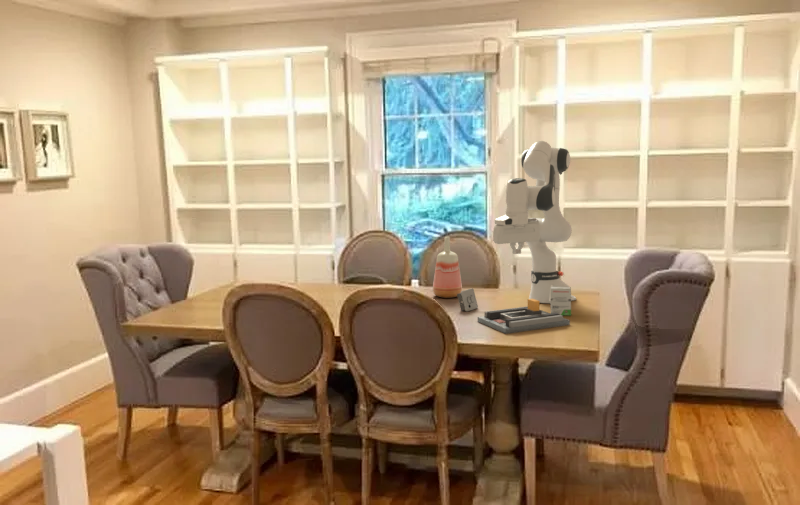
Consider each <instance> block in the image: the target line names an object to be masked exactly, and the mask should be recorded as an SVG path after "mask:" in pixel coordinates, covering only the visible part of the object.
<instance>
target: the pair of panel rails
mask: <svg viewBox="0 0 800 505" xmlns="http://www.w3.org/2000/svg"><path fill="white" fill-rule="evenodd" d="M526 308H528V305H526V306H519V307H514V308H513V307H511V308H503V309H495V310H486V311H484V315H483V316H485V317H487V318H490V319H491V318H499V317H500V314H501V313H509V312H517V311H525V309H526ZM548 313H549V314H541V315H534V316H526V317H518V318H510V319H506V325H507V326H509V327H511V328H513V327H520V326H528V325H535V324H543V323H550V322H557V321H563V318H564V315H560V314H559V313H551V312H548Z"/></svg>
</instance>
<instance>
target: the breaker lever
mask: <svg viewBox="0 0 800 505" xmlns="http://www.w3.org/2000/svg"><path fill="white" fill-rule="evenodd" d="M527 306H528V308H526V309H525V316H527V315H535V314H542V311H543V310H541V309H540V303H539V301H538V300H535V299H529V298H528V299H527Z"/></svg>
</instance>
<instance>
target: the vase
mask: <svg viewBox="0 0 800 505" xmlns="http://www.w3.org/2000/svg"><path fill="white" fill-rule="evenodd" d="M443 240H444V243H443V244H444V245H443V247H444V248H443V251H441V252H439V253H438V254H437V255H436V261H435V268H434V276H433V283H432V292H433V294H434V295H435V296H436V297H439V298H443V299H449V298H450V299H451V298H456V297H457V298H458V296H457V294H459V293H461V291H463V286H462V285H463V284H462V277H461V270H460V263H459V256H458V254H457V253H456V252H454V251H451V237H450V236H444V239H443Z"/></svg>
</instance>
